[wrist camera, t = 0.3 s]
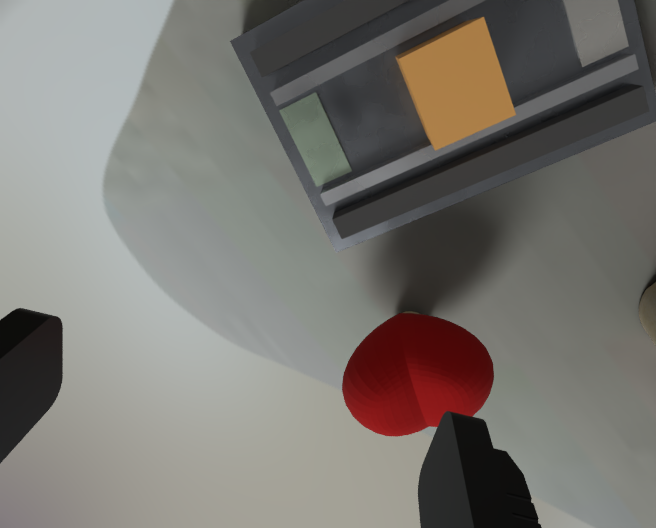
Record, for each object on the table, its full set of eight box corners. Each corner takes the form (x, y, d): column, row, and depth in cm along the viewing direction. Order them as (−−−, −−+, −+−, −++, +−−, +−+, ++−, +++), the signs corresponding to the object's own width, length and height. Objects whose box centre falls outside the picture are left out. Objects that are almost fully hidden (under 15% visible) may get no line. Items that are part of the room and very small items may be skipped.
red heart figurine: (363, 373, 39) (359, 472, 30) (334, 297, 37) (320, 380, 28) (482, 345, 37) (516, 441, 28) (460, 262, 35) (489, 339, 26)
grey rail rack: (580, -126, 24) (591, -135, 23) (637, 108, 28) (649, 111, 27) (254, 52, 28) (249, 52, 27) (342, 232, 32) (341, 239, 31)
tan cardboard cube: (465, 21, 27) (483, 16, 22) (493, 103, 28) (516, 114, 24) (395, 56, 28) (398, 58, 23) (426, 134, 29) (434, 150, 25)
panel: (576, -145, 26) (607, -174, 22) (639, 113, 30) (672, 122, 27) (241, 41, 31) (224, 41, 27) (338, 238, 35) (334, 259, 32)
